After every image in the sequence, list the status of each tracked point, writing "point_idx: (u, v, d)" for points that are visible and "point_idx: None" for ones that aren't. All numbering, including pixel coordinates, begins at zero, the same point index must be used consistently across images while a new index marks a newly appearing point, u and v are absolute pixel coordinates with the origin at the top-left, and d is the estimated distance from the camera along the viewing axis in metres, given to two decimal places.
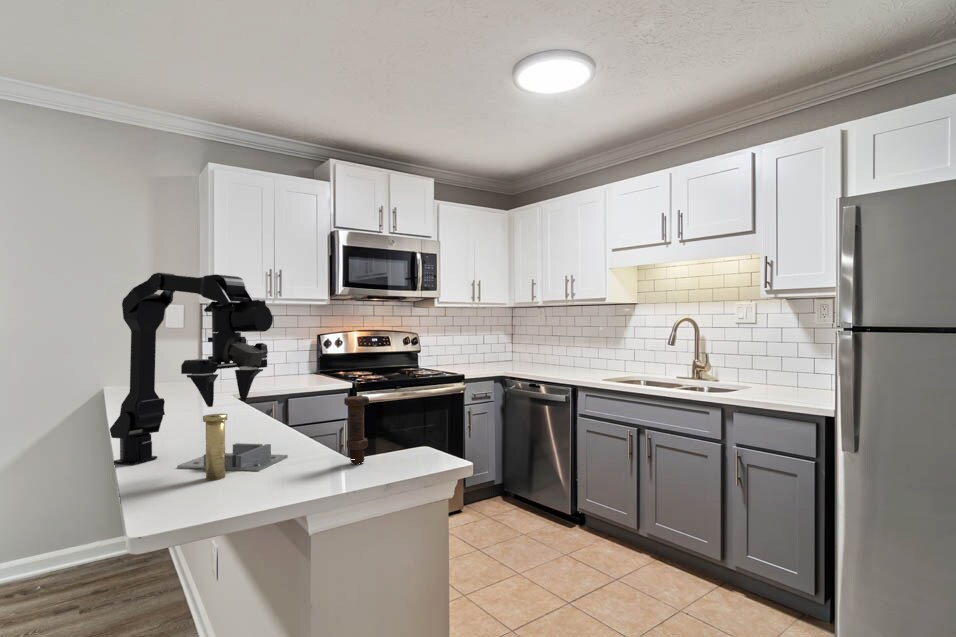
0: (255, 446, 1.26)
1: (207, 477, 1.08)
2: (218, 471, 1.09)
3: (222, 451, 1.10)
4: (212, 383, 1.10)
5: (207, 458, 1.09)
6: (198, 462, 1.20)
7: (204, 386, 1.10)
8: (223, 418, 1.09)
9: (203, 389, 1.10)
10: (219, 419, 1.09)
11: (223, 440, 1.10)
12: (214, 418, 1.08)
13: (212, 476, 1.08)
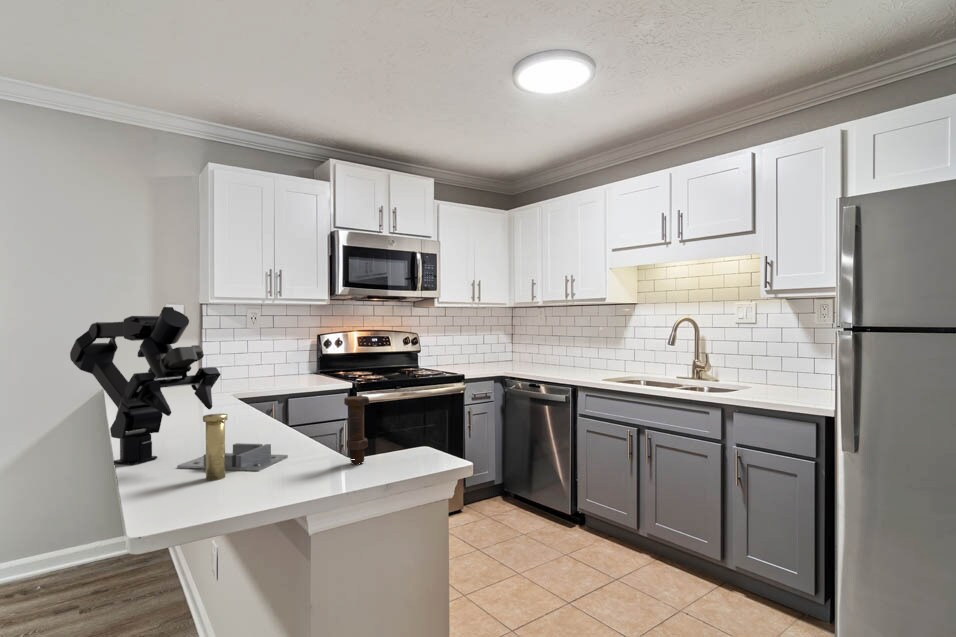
0: (255, 446, 1.26)
1: (207, 477, 1.08)
2: (218, 471, 1.09)
3: (222, 451, 1.10)
4: (159, 392, 1.11)
5: (207, 458, 1.09)
6: (198, 462, 1.20)
7: (155, 399, 1.11)
8: (223, 418, 1.09)
9: (155, 403, 1.11)
10: (219, 419, 1.09)
11: (223, 440, 1.10)
12: (214, 418, 1.08)
13: (212, 476, 1.08)
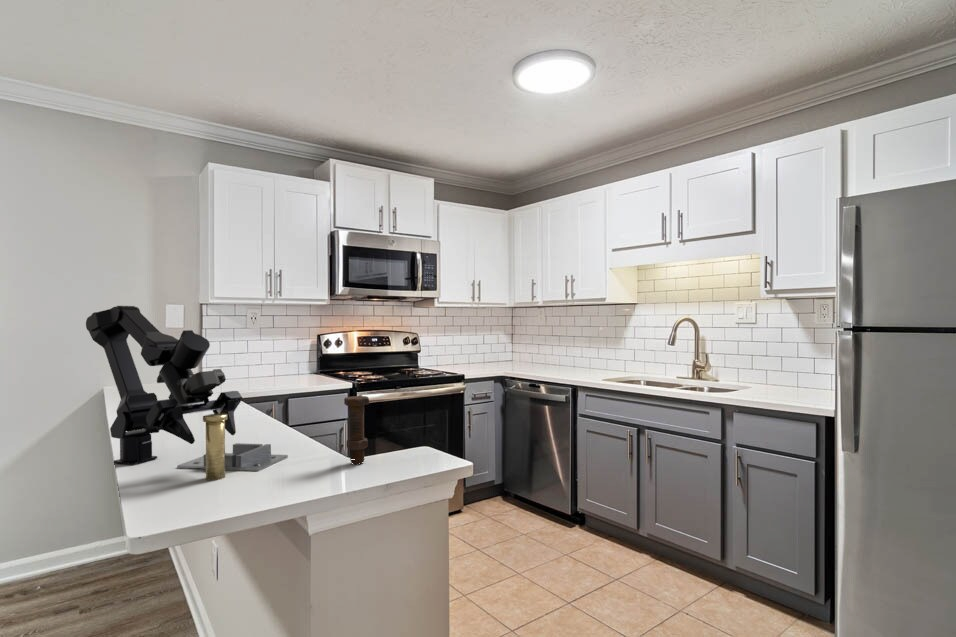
0: (255, 446, 1.26)
1: (207, 477, 1.08)
2: (218, 471, 1.09)
3: (222, 451, 1.10)
4: (182, 419, 1.07)
5: (207, 458, 1.09)
6: (198, 462, 1.20)
7: (177, 427, 1.07)
8: (223, 418, 1.09)
9: (178, 430, 1.07)
10: (219, 419, 1.09)
11: (223, 440, 1.10)
12: (214, 418, 1.08)
13: (212, 476, 1.08)
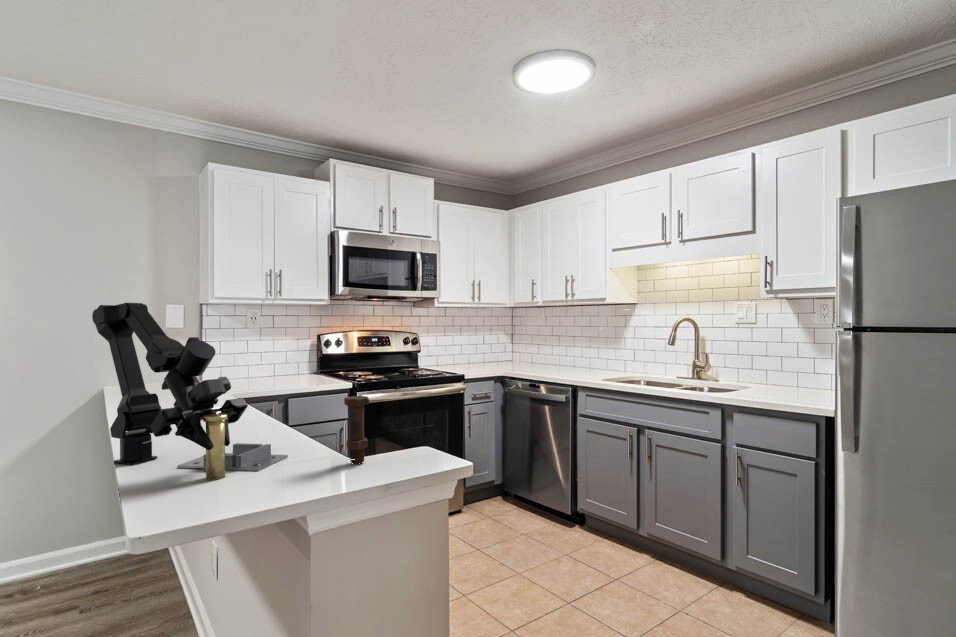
0: (255, 446, 1.26)
1: (207, 477, 1.08)
2: (219, 471, 1.09)
3: (222, 451, 1.10)
4: (199, 425, 1.08)
5: (207, 458, 1.09)
6: (198, 462, 1.20)
7: (195, 433, 1.08)
8: (223, 418, 1.09)
9: (196, 437, 1.08)
10: (219, 419, 1.09)
11: (223, 440, 1.10)
12: (214, 418, 1.08)
13: (212, 476, 1.08)
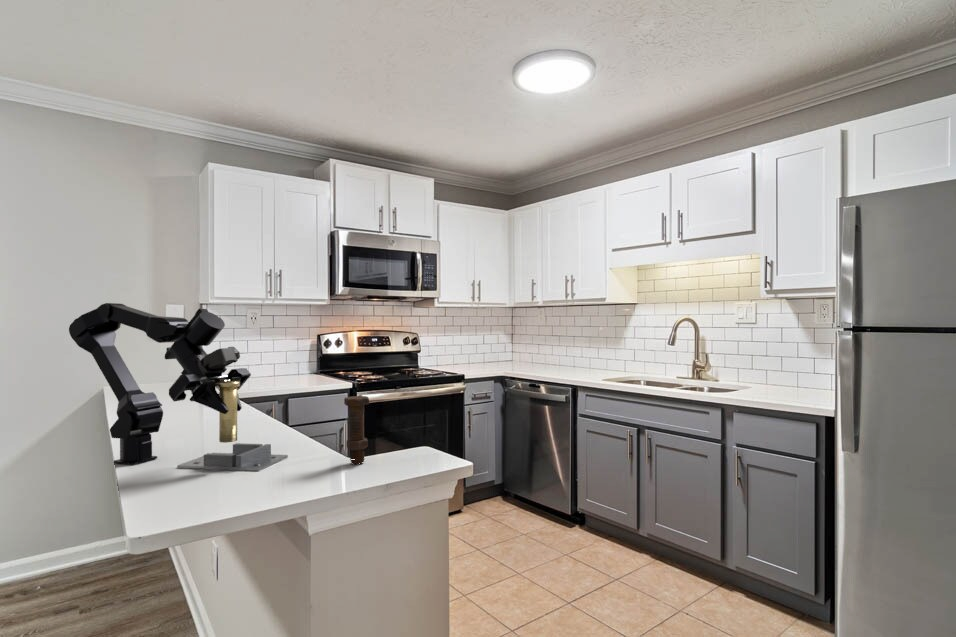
0: (255, 446, 1.26)
1: (221, 439, 1.15)
2: (233, 434, 1.16)
3: (236, 415, 1.17)
4: (215, 391, 1.15)
5: (221, 422, 1.15)
6: (198, 462, 1.20)
7: (210, 399, 1.15)
8: (237, 384, 1.17)
9: (211, 402, 1.15)
10: (234, 385, 1.16)
11: (236, 405, 1.17)
12: (230, 384, 1.15)
13: (226, 438, 1.15)
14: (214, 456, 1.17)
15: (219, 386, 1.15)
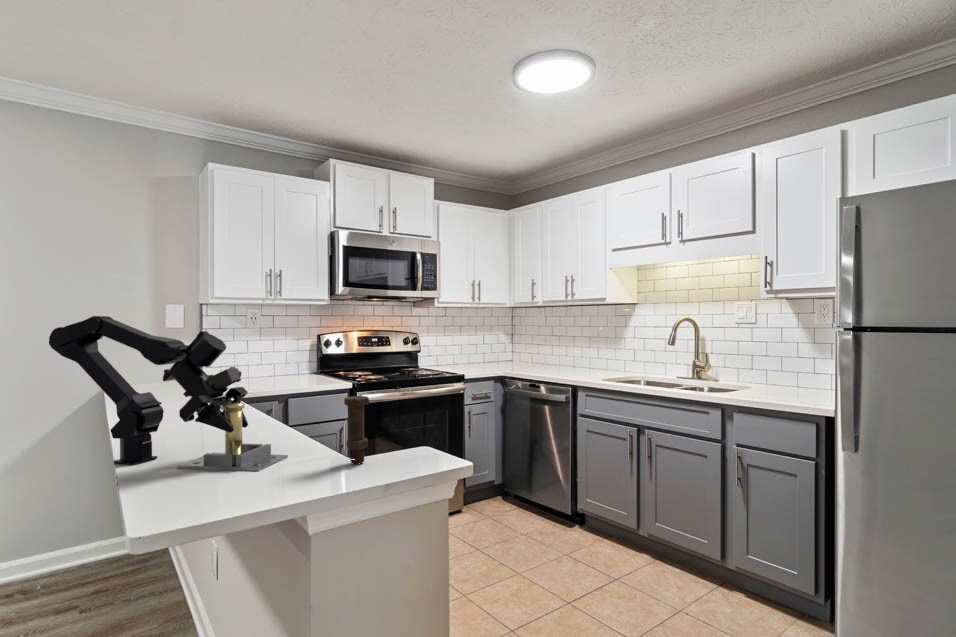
0: (255, 446, 1.26)
1: None
2: (240, 453, 1.22)
3: (241, 435, 1.23)
4: (220, 411, 1.19)
5: (229, 442, 1.21)
6: (198, 462, 1.20)
7: (215, 418, 1.19)
8: (243, 405, 1.23)
9: (216, 421, 1.19)
10: (241, 406, 1.22)
11: None
12: (237, 406, 1.21)
13: None
14: (214, 456, 1.17)
15: (226, 408, 1.20)
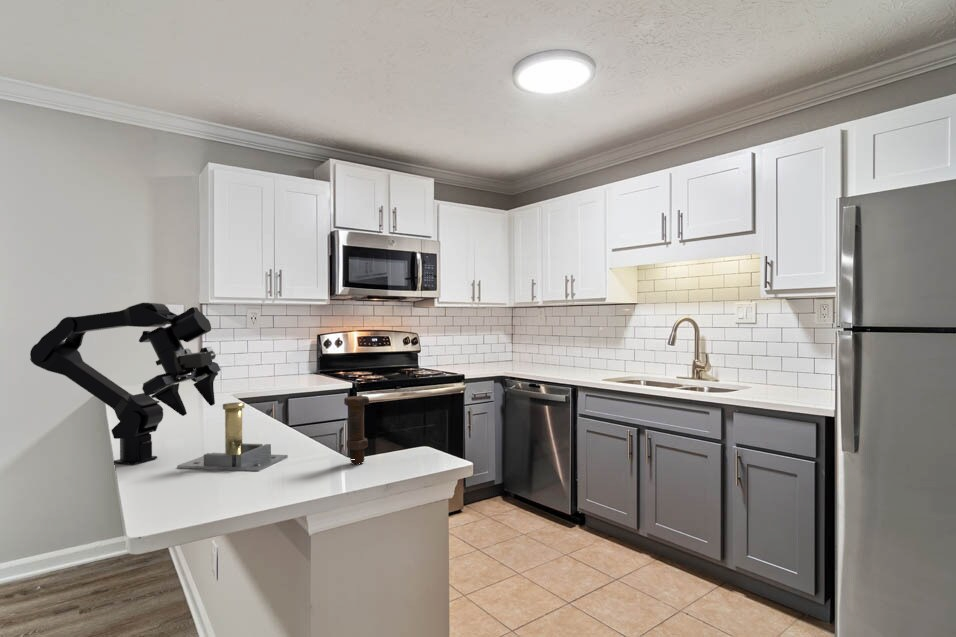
0: (255, 446, 1.26)
1: None
2: (240, 453, 1.22)
3: (241, 435, 1.23)
4: (177, 393, 1.20)
5: (228, 442, 1.21)
6: (198, 462, 1.20)
7: (171, 399, 1.20)
8: (243, 405, 1.23)
9: (171, 402, 1.20)
10: (241, 406, 1.22)
11: None
12: (237, 406, 1.21)
13: None
14: (214, 456, 1.17)
15: (226, 408, 1.20)
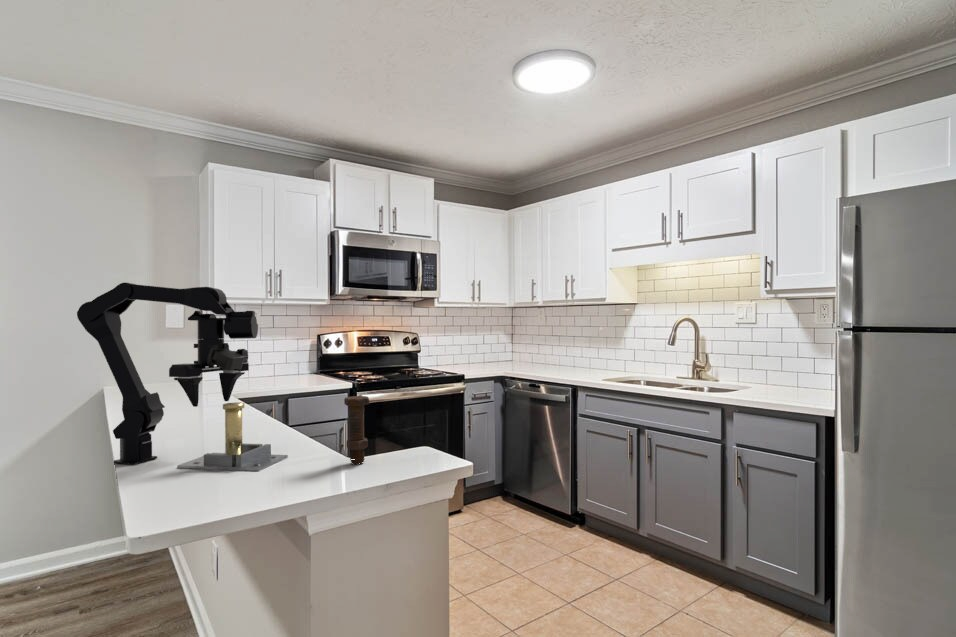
0: (255, 446, 1.26)
1: None
2: (240, 453, 1.22)
3: (241, 435, 1.23)
4: (197, 385, 1.22)
5: (228, 442, 1.21)
6: (198, 462, 1.20)
7: (190, 388, 1.22)
8: (243, 405, 1.23)
9: (189, 390, 1.22)
10: (241, 406, 1.22)
11: None
12: (237, 406, 1.21)
13: None
14: (214, 456, 1.17)
15: (226, 408, 1.20)
